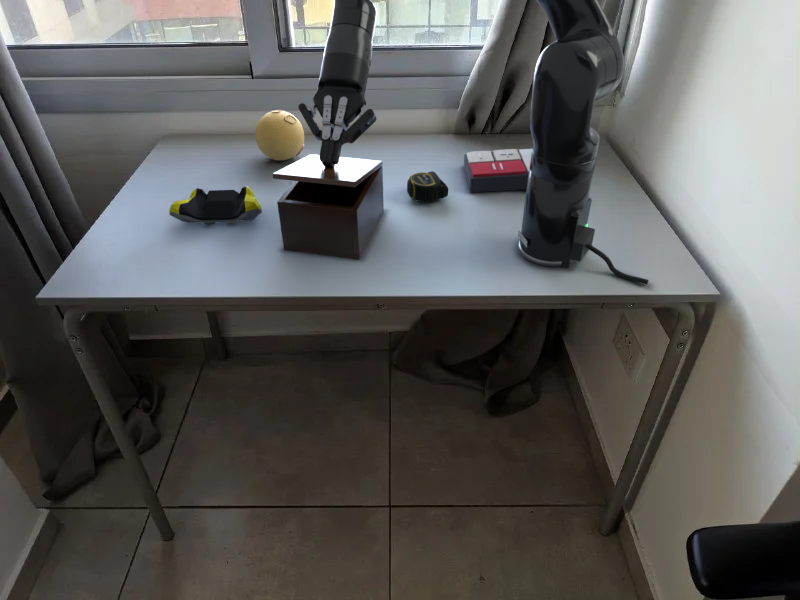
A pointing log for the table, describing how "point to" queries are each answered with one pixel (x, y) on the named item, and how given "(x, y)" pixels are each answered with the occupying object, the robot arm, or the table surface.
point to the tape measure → (426, 187)
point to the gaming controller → (217, 206)
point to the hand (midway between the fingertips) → (328, 165)
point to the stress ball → (279, 135)
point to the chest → (331, 216)
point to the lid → (329, 171)
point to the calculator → (497, 169)
